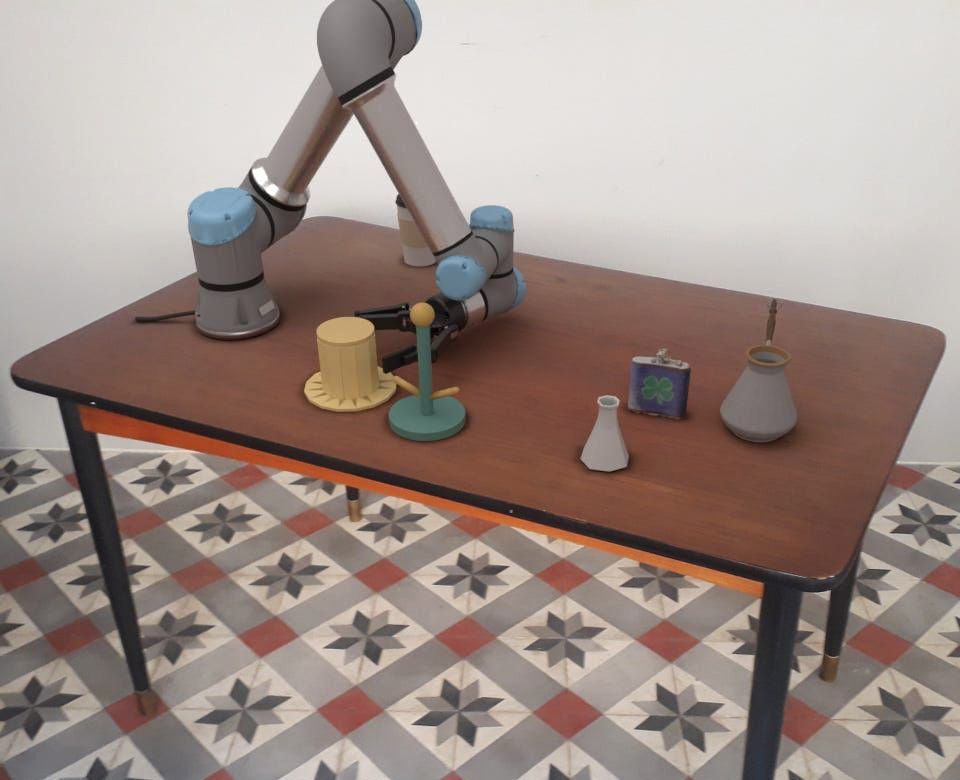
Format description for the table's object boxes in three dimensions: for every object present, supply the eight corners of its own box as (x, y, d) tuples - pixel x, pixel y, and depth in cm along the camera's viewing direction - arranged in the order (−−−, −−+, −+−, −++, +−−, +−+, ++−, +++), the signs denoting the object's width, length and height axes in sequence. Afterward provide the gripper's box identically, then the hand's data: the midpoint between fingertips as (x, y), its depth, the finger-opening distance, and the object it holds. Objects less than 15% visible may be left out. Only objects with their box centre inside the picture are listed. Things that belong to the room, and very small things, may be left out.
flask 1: (576, 447, 157) (579, 389, 151) (624, 444, 158) (628, 386, 152) (584, 474, 151) (587, 415, 145) (633, 471, 152) (638, 412, 146)
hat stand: (376, 432, 161) (366, 314, 150) (408, 396, 170) (401, 281, 159) (447, 447, 158) (443, 327, 146) (477, 409, 167) (475, 293, 155)
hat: (288, 402, 169) (280, 342, 163) (332, 360, 181) (326, 303, 175) (371, 418, 165) (366, 357, 158) (411, 375, 176) (407, 316, 170)
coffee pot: (792, 454, 155) (809, 364, 146) (714, 443, 157) (726, 354, 149) (797, 385, 172) (813, 301, 163) (726, 376, 174) (738, 293, 166)
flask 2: (626, 411, 165) (631, 350, 159) (629, 402, 168) (635, 342, 162) (684, 420, 163) (691, 359, 157) (687, 411, 165) (694, 351, 159)
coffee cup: (445, 251, 220) (442, 181, 211) (439, 269, 212) (436, 197, 204) (402, 250, 221) (398, 180, 212) (395, 268, 213) (391, 196, 205)
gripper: (503, 353, 177) (408, 399, 165) (407, 309, 192) (313, 347, 180) (503, 313, 173) (405, 356, 161) (405, 270, 188) (309, 307, 175)
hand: (356, 351), depth 170 cm, fingers open, 13 cm apart
